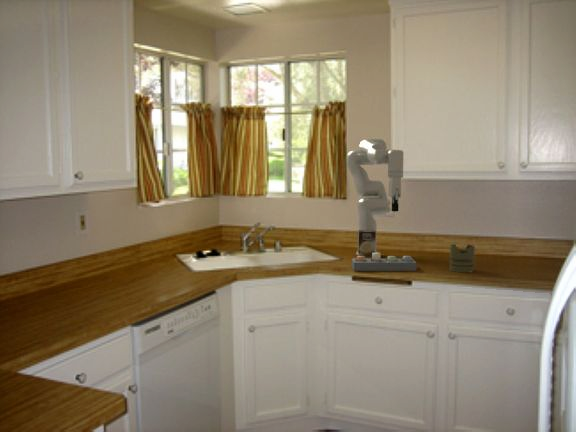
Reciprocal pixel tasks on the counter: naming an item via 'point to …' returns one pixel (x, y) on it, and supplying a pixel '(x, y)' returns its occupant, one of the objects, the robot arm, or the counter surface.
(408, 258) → the slate button
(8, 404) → the counter surface
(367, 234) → the coffee box
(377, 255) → the cream button
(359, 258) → the terracotta button
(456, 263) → the olive tactical vest
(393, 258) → the sage button
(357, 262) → the console
